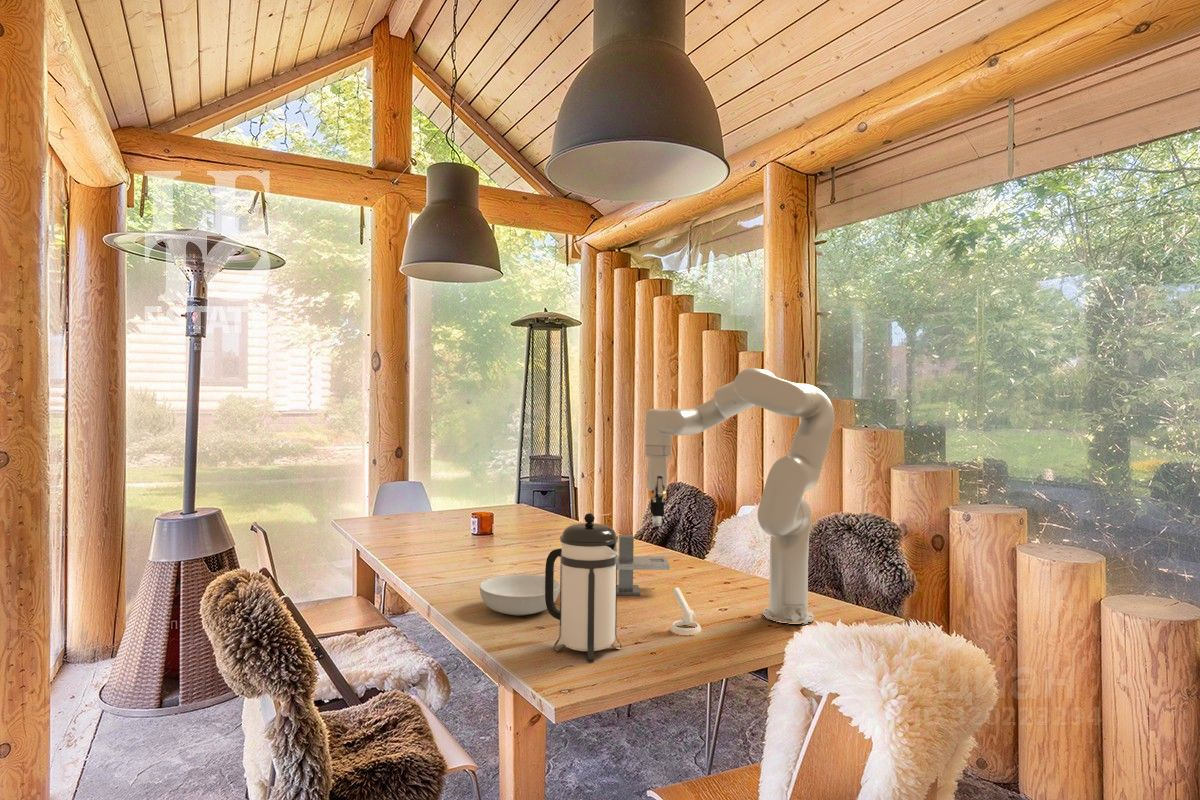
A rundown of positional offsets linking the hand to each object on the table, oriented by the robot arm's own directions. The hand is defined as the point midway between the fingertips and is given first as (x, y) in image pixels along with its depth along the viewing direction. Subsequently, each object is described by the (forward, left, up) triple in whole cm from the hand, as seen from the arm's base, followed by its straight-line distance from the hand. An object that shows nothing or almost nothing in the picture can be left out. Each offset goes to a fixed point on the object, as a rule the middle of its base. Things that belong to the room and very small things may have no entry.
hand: (657, 514), depth 196 cm
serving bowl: (-18, +38, -23) cm, 48 cm away
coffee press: (-46, +22, -23) cm, 56 cm away
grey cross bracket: (0, +5, -22) cm, 23 cm away
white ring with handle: (-34, -3, -23) cm, 41 cm away
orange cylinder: (0, 0, -3) cm, 3 cm away
